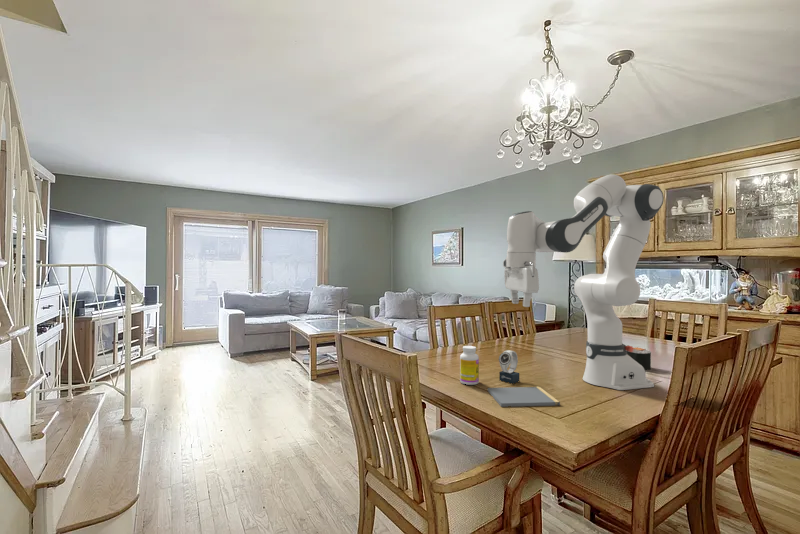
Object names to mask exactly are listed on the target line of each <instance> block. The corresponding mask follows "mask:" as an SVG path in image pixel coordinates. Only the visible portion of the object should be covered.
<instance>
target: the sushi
mask: <svg viewBox="0 0 800 534" xmlns="http://www.w3.org/2000/svg"><path fill="white" fill-rule="evenodd" d="M633 350H634V351H633V352H629V351H627V350H626V351H627V355H629V356H630V357H631V358H632V359H634V360H635V361H636V362H638V363H639V364H640V365H642V366H643V368H644V370H645V371H650V370H652V369H651V368H652V367H651V366H652V365H651V363H652V361H651V360H652V351H651V350H649V349H647V348H643V347H639V346H638V347H633Z"/></svg>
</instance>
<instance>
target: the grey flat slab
mask: <svg viewBox="0 0 800 534" xmlns="http://www.w3.org/2000/svg"><path fill="white" fill-rule="evenodd" d="M487 392H488V394H490V395H491V397H492V396H493V397H492V398H493V399H494V401H496V403H498V405H499V406H500V407H502V408H503V407H504V408H505V407H508V406H511V407H546V406H553V407H555V406H561V402H560V401H559V400H558V399H557V398H555V397H554V396H553V395H552V394H550V393H549V392H547V391H546V390H545V389H543V388H542V387H541V386H524V387H523V386H518V387H516V386H515V387H513V386H512V387H511V386H510V387H487Z"/></svg>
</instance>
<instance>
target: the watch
mask: <svg viewBox="0 0 800 534" xmlns="http://www.w3.org/2000/svg"><path fill="white" fill-rule="evenodd" d="M518 361H519V359H518V354H517V352H516V351H514V350H509V349H506V350H504V351H503V352H502V353H500V354H499V357H498V363H499V366H500V368H501V370H500V371H499V375H498V376H499V381H500V380H501V382H503V381H505V383H507V382H509V383H508V384H511V383H512V384H511V385H513V383H514V384H516V382H517V383H519V382H520V373H519V372H516V370H517V366H518V363H519V362H518ZM508 368H509V369H508ZM518 381H519V382H518Z"/></svg>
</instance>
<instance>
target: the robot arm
mask: <svg viewBox="0 0 800 534" xmlns="http://www.w3.org/2000/svg"><path fill="white" fill-rule="evenodd" d="M664 198H665V197H664V193H663V190H662V189H661V188H660V186H658V185H655V184H649V183H644V184H629V185H627V184H626V181H625V180H624V178H623V177H621V176H620V175H618V174H613V173H610V174H607V175H604V176H602V177H599V178H598V179H597V178H596V180H594V181H592V182H590V183H589V184H587V185H586V186H585V187H583V188H582V189H581V190H579V192H578V193H577V194H576V195H575V196H574V198H573V208H574V211H575V212H576V213H575V214H574V215H573V216H571V217H569V218H564V219H563V218H562V219H560V220H554V221H548V222H546V221H545V220H543V219H540V218H539V217H537V216H536V214H535V213H534V211H530V210H527V211H521V212H516V213H512V214H511V215H510V216H509V217H508V222H507V227H506V240H507V241H506V242H507V250H506V258H504V260H503V262H502V267H503V268H504V273H503V275H504V285H505V289H506V290H510V297H511V303H512V304H514V305H516V304H517V305H518V304H519V303H520V302H519V301H520V300H519V295H518V293H519V292H523V300H522V306H523V307H525V308H529V307H531V300H532V297H533V294H535V293H536V294H537V293H538V292H539V290H540V289H539V288H540V286H539V285H540V284H539V272H538V271H539V270H538V269H537V268H536V265H537V264H536V261H537V260H536V258H537V257H536V255H537V254H536V253H556V252H557V253H565V254H567V253H571V252H573V251H574V250H576V249H577V248H578V246H579V245H580V243H581V241H582V240H583V239H584V237H585V235H586V234H587V233H588V232H589V231H590V230H591V229H592V228H593V227H594V226H596V224H598V223H599V221H600V220H602V219H603V218H604V216H606V217H617V218H619V223H618V224H617V226H616V227H615V229H614V231H613V232H612V235H611V237H610V238H609V241H608V243H607V245H606V247H605V249H604V251H603V253H602V254H603V255H602V258H603V260H604V262H605V263H606V264H605V270H604V272H603V273H589V274H585V275H584V274H583V275H582V276H579V277H577V279H576V280H575V282H574V284H573V285H574V286H573V289H574V293H575V295H576V296H577V297H578V299H579V300H580V301H581V304H582V307H583V309H584V312H585V316H586V323H587V324H586V325H587V327H586V329H587V340H586V343H585V345H586V346H585V353H586V355H585V356H586V361H585V369H584V373H583V377H582V380H583V381H584V382H585V383H588V384H591V385H594V386H599V387H602V388H603V387H604V388H610V389H614V390H617V391H624V390H625V391H626V390H637V389H646V388H654V387H655V385H654V382H653V381H651V380H650V379H648V378H647V375H646V370H644V368H643V366H642V365H640V364H639V363H638V362H636V361H635V360H634V359H632V358H631V357H630V356H629V355H627V351H629V352H633V351H634V350H633V348H634V347H633V346H632V345H625V344H624V343H623V321H622V320H621V318H619V317H618V316H617V314H616V313H615V310H614V307H625V306H630V305H634V304H635V303H636V302H637V301H638V300H639V298H640V295H641V286H640V284H639V282H638V281H637V279H636V276H635V274H636V266H637V263H638V261H639V259H640V257H641V255H642V252H643V250H644V248H645V246H646V244H647V241H648V239H649V235H650V231H651V227H652V225H651V221H650V220H652V219H653V218H655V216H656V215H657V214H658V212H659V211H660V210H661V208H662V206H663V204H664ZM626 350H627V351H626Z"/></svg>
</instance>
